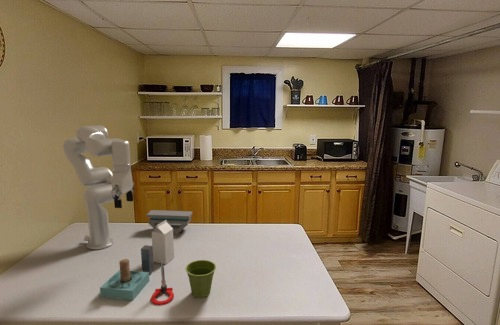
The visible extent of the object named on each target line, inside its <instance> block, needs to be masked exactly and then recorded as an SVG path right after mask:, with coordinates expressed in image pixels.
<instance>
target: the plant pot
mask: <svg viewBox="0 0 500 325" xmlns="http://www.w3.org/2000/svg"><path fill="white" fill-rule="evenodd" d="M184 269H185V272H186V273H187V277H188V280H189V284H190V285H189V286H190V290H191V291H190V292H191V295H192V296H193V297H194V298H196V299H204V298H207V297H208V296H209V295H210V294H211V289H212V284H213V277H214V274H215V271H216V270H217V265H216V263H215V262H213V261H211V260H208V259H197V260H193V261H191V262H189V263H188V264H186V266H185V267H184Z"/></svg>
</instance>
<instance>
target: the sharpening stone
mask: <svg viewBox="0 0 500 325" xmlns="http://www.w3.org/2000/svg"><path fill="white" fill-rule="evenodd" d="M192 216H193V211H191V210H190V211H189V210H188V211H185V210H183V211H182V210H161V209H160V210H159V209H158V210H155V209H151V210H150V211H149V212H148V213H146V218H149V219H148V224H149V226H150V227H152V228H153V230H155V229H156V226H157V225H158V224H160V223H162V222H163V221H165V220H167V223H168V224H169V225H170V226H171V227H172V228H173V234H176V235H177V234H180V233H181V232H182V230H183V229H186V227H187V226H188V225H189V223H190V222H191V220H192Z"/></svg>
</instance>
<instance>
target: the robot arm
mask: <svg viewBox="0 0 500 325" xmlns="http://www.w3.org/2000/svg"><path fill="white" fill-rule="evenodd" d="M62 149H63V153H64V155H65V156H66V159H67V160H68V162H69V163H70V164H71V165H72V167H73V168H74V171H75V173H76V175H77V178H78V180H79V182H80V185H82V187H84V188H87V189H85V190H84V192H83V193H82V194H83V200H84V204H85V208H86V212H87V213H86V214H87V225H88V234H89V235H87V234H86V235H84V238H83V241H85V242H86V241H87V244H86V248H87V249H90V250H103V249H105V248H108V247H111V246H112V245H113V244H114V239H113V238H112V237H111V236H110V225H109V212H108V210H107V208H106V207H104V206H103V204H107V203H111V202H114V209H122V208H123V205H122V204H123V203H122V202H123V201H122V195H124V194H125V197H126V202H134V188H135V186H134V185H135V181H133V175H132V165H131V152H130V142H129V141H128V140H125V139H122V138H119V137H117V138H115V137H114V138H109V132H108V129H107V127H105V126H104V125H101V124H99V125H98V124H97V125H95V124H94V125H83V126H80V127H79V128H78V129H77V130H76V132H75V137H69V138H67V139H66V140H65V139H64V142H63V146H62ZM85 153H89V154H90V155H92V156H93V157H107V156H111V164H112V171H111V169H109V168H108V167H106V166H100V167H94V165H93V162H92V161H91V160H90V159H89V158H88V157H86V156H85V155H83V154H85Z"/></svg>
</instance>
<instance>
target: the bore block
mask: <svg viewBox="0 0 500 325" xmlns="http://www.w3.org/2000/svg"><path fill="white" fill-rule="evenodd" d="M130 280H131V281H130V282H128V283H121V277H120V269H118V270H117V271H116V272H115V273H114V274H113V275H112V276H111V277H109V278H108V280H107V281H105V282H104V283H103V284H102V285H101V286H100V287H99V291H100V298H107V299H115V300H116V299H117V300H125V301H134V300H135V299H136V298H137V296H138V295H139V294H140V293H141V292H142V290H143V289H144V288H145V287H146V286H147V284H148V283H149V282H150V275H149V272H142V271H139V270H137V271H136V270H130Z"/></svg>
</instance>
